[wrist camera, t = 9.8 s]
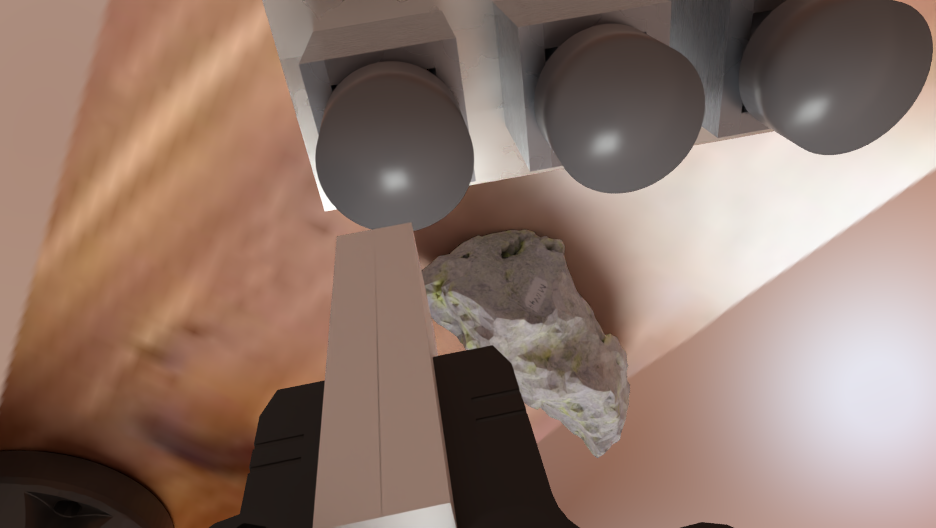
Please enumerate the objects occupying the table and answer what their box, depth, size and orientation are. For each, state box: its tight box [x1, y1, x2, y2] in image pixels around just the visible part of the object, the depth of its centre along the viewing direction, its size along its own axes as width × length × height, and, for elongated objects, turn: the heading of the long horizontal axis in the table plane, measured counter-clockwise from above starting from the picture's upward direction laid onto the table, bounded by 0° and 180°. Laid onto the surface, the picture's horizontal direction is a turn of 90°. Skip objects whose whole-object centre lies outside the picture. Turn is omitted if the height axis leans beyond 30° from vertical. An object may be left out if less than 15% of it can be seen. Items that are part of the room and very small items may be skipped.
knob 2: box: [534, 24, 705, 193], centre depth 22 cm, size 5×5×10 cm
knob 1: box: [315, 61, 474, 231], centre depth 22 cm, size 5×5×10 cm
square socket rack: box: [262, 0, 786, 211], centre depth 24 cm, size 22×10×7 cm, turn 98°
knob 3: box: [738, 0, 933, 155], centre depth 22 cm, size 5×5×10 cm
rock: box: [422, 229, 630, 458], centre depth 32 cm, size 16×7×7 cm, turn 39°
